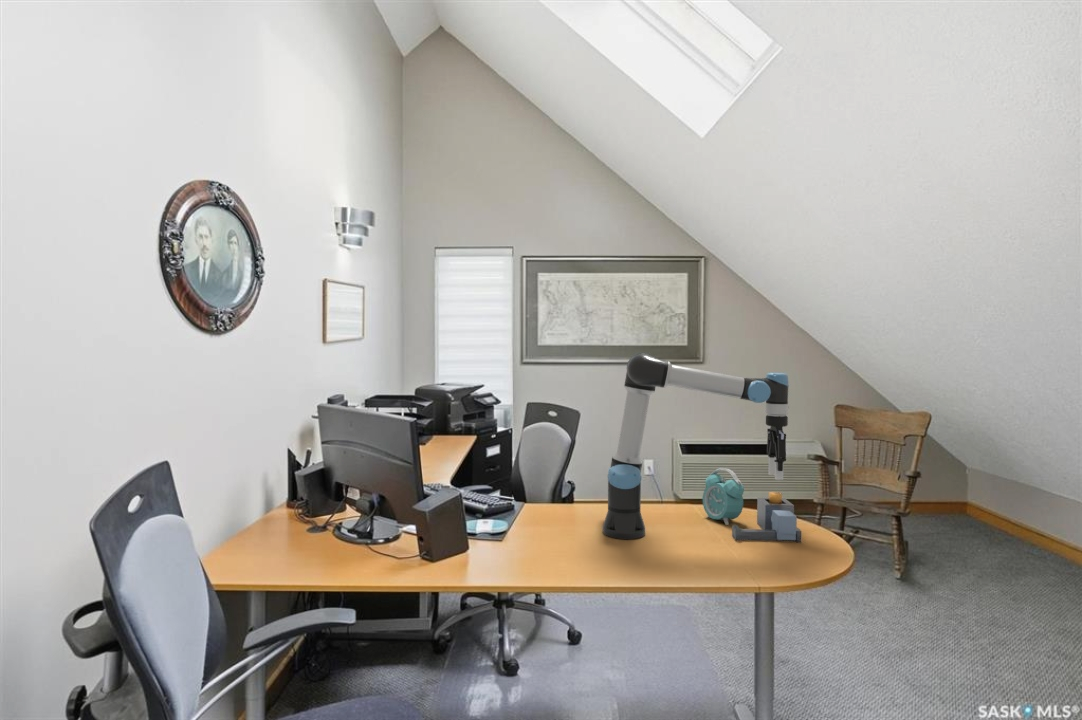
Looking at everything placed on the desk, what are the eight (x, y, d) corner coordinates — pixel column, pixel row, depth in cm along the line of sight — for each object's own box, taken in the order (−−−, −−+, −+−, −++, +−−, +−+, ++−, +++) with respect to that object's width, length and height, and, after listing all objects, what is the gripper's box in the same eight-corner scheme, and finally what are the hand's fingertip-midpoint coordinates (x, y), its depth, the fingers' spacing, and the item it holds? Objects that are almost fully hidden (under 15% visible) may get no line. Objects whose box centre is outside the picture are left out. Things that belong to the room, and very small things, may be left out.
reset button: (771, 504, 218) (771, 494, 218) (767, 501, 222) (767, 491, 222) (783, 504, 217) (783, 494, 217) (779, 501, 222) (779, 491, 222)
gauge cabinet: (765, 532, 215) (766, 505, 214) (757, 523, 225) (757, 497, 225) (794, 533, 214) (794, 505, 214) (784, 524, 225) (784, 498, 224)
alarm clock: (697, 515, 236) (698, 465, 235) (716, 512, 240) (717, 463, 239) (728, 527, 220) (729, 474, 220) (748, 524, 224) (748, 471, 224)
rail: (735, 540, 206) (735, 529, 206) (732, 536, 211) (732, 524, 211) (801, 542, 204) (801, 531, 204) (796, 537, 209) (796, 526, 209)
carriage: (778, 540, 204) (778, 516, 204) (771, 533, 211) (772, 510, 211) (796, 540, 203) (796, 516, 203) (789, 534, 210) (789, 510, 210)
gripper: (796, 418, 209) (795, 483, 209) (778, 411, 228) (777, 471, 229) (774, 418, 209) (773, 483, 210) (758, 411, 229) (757, 471, 230)
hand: (775, 477), depth 219 cm, fingers open, 7 cm apart
